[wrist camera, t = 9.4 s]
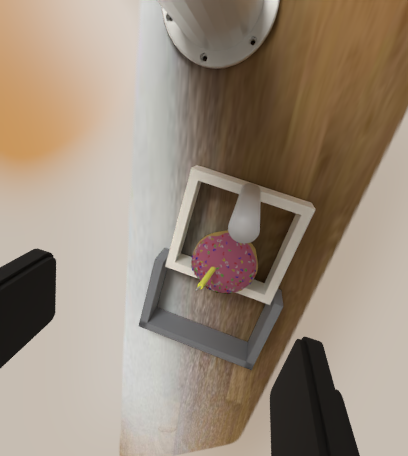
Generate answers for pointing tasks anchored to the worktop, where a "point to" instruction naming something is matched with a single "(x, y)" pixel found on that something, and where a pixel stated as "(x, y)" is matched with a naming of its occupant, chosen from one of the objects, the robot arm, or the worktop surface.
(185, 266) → the collar
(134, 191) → the worktop surface
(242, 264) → the pink frosted cake
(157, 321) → the holder bay
